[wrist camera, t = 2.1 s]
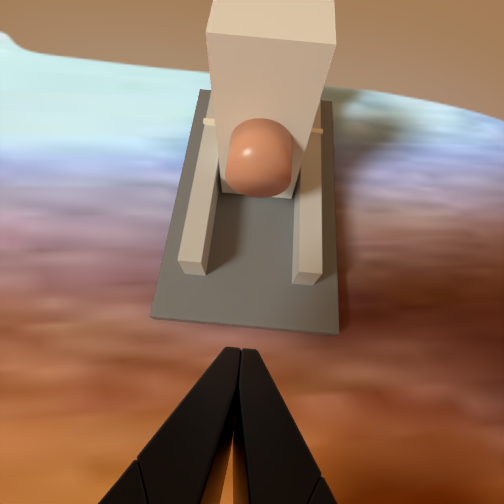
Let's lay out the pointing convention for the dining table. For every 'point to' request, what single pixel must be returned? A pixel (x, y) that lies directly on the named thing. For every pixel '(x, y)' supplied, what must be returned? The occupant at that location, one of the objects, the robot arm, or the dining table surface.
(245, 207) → the station
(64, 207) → the dining table surface
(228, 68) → the plug
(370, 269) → the dining table surface
